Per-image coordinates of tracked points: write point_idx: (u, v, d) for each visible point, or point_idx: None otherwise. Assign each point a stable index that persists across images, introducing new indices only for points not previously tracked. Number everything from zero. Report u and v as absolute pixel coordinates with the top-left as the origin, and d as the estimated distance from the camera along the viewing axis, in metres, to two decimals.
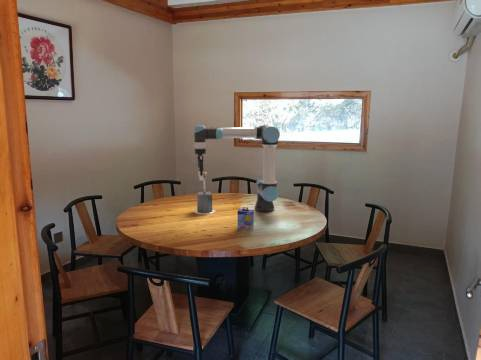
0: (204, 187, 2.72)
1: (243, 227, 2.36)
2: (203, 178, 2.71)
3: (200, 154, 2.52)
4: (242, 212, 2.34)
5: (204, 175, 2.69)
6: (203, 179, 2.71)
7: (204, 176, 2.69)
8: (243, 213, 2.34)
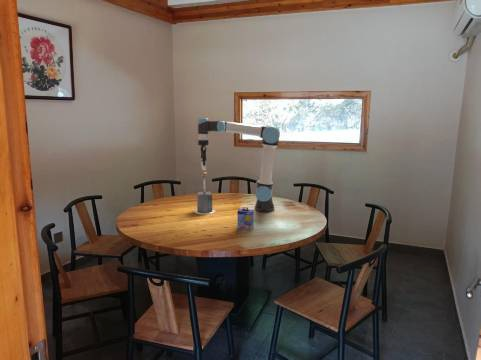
0: (204, 187, 2.72)
1: (243, 227, 2.36)
2: (203, 178, 2.71)
3: (203, 145, 2.63)
4: (242, 212, 2.34)
5: (204, 175, 2.69)
6: (203, 179, 2.71)
7: (204, 176, 2.69)
8: (243, 213, 2.34)
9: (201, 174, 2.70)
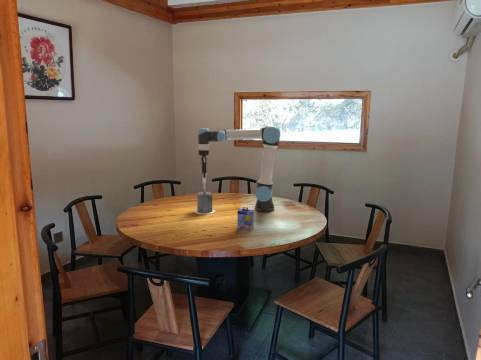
0: (204, 187, 2.72)
1: (243, 227, 2.36)
2: None
3: (203, 155, 2.65)
4: (242, 212, 2.34)
5: None
6: None
7: None
8: (243, 213, 2.34)
9: (201, 174, 2.70)
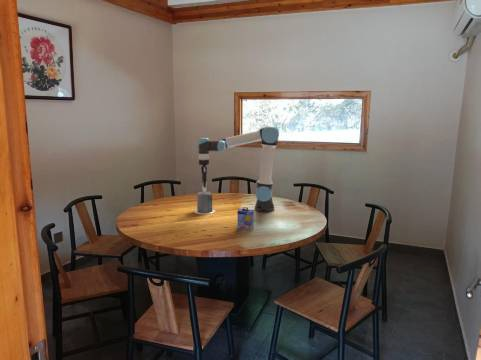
0: None
1: (243, 227, 2.36)
2: None
3: (204, 165, 2.66)
4: (242, 212, 2.34)
5: None
6: None
7: None
8: (243, 213, 2.34)
9: None
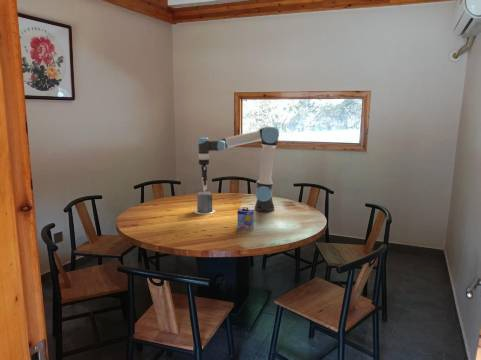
0: None
1: (243, 227, 2.36)
2: None
3: (204, 165, 2.66)
4: (242, 212, 2.34)
5: None
6: None
7: None
8: (243, 213, 2.34)
9: None
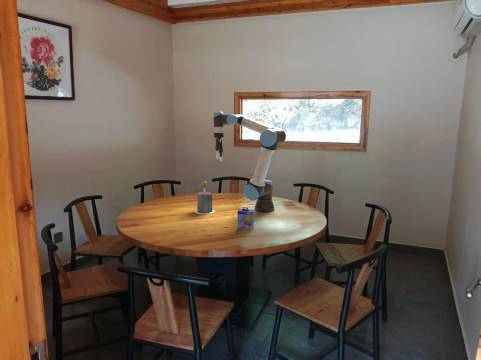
0: None
1: (243, 227, 2.36)
2: None
3: (219, 137, 2.80)
4: (242, 212, 2.34)
5: (204, 184, 2.70)
6: None
7: (204, 185, 2.70)
8: (243, 213, 2.34)
9: None
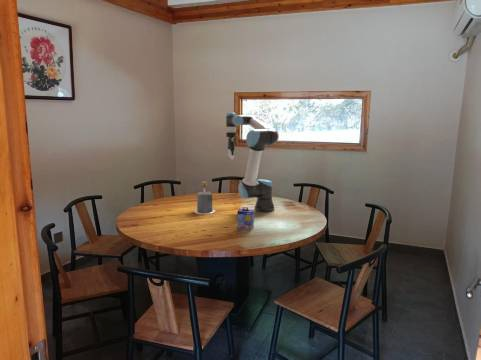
0: None
1: (243, 227, 2.36)
2: None
3: (231, 137, 2.95)
4: (242, 212, 2.34)
5: (204, 184, 2.70)
6: None
7: (204, 185, 2.70)
8: (243, 213, 2.34)
9: None
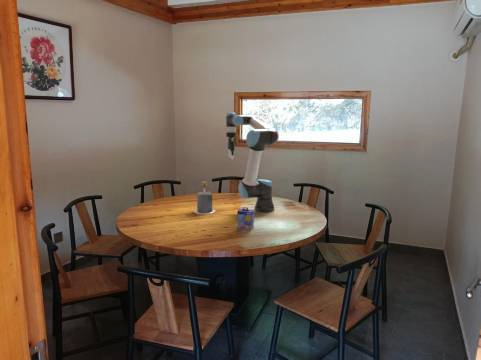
0: None
1: (243, 227, 2.36)
2: None
3: (231, 137, 2.95)
4: (242, 212, 2.34)
5: (204, 184, 2.70)
6: None
7: (204, 185, 2.70)
8: (243, 213, 2.34)
9: None
